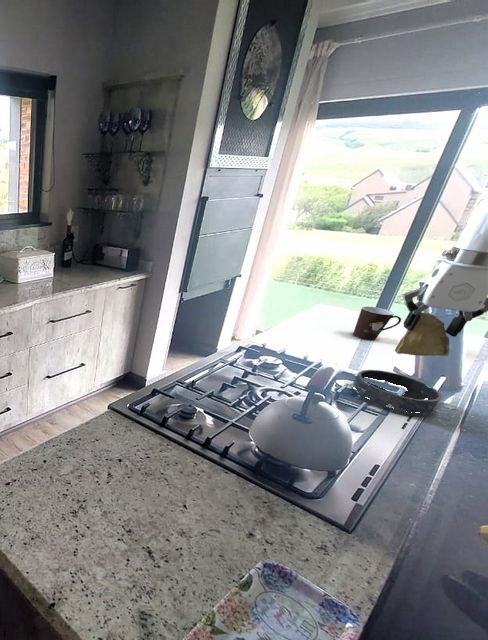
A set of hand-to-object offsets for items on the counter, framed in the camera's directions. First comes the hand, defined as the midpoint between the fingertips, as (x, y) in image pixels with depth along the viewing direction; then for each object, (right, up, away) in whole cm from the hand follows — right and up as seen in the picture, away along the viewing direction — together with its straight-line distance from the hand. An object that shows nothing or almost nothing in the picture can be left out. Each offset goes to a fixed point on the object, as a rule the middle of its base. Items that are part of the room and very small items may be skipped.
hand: (428, 331), depth 98 cm
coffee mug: (+29, +2, +46) cm, 55 cm away
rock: (0, -6, +3) cm, 6 cm away
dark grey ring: (-1, -17, +8) cm, 19 cm away
